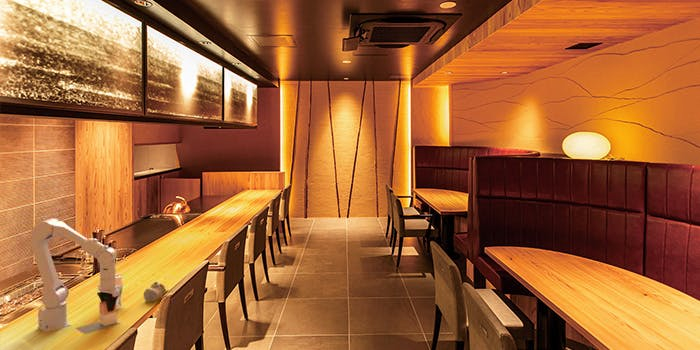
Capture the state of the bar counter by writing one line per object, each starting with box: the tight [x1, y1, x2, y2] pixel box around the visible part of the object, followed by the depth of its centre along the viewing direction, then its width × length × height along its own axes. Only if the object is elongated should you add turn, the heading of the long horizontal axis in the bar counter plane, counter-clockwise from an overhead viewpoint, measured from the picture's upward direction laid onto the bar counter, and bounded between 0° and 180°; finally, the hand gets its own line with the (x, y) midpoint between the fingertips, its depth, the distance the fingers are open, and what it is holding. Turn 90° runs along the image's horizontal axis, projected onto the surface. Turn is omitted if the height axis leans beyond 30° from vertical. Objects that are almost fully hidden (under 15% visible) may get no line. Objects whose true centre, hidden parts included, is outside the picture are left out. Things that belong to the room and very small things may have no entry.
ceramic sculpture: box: [143, 281, 170, 303], centre depth 225 cm, size 11×9×15 cm
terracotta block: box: [98, 301, 117, 315], centre depth 192 cm, size 5×4×4 cm
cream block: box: [99, 311, 118, 326], centre depth 193 cm, size 5×4×4 cm
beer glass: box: [116, 273, 124, 310], centre depth 211 cm, size 7×7×15 cm
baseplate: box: [75, 321, 121, 335], centre depth 190 cm, size 14×9×1 cm, turn 141°
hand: (108, 309), depth 193 cm, fingers closed on terracotta block, 4 cm apart
